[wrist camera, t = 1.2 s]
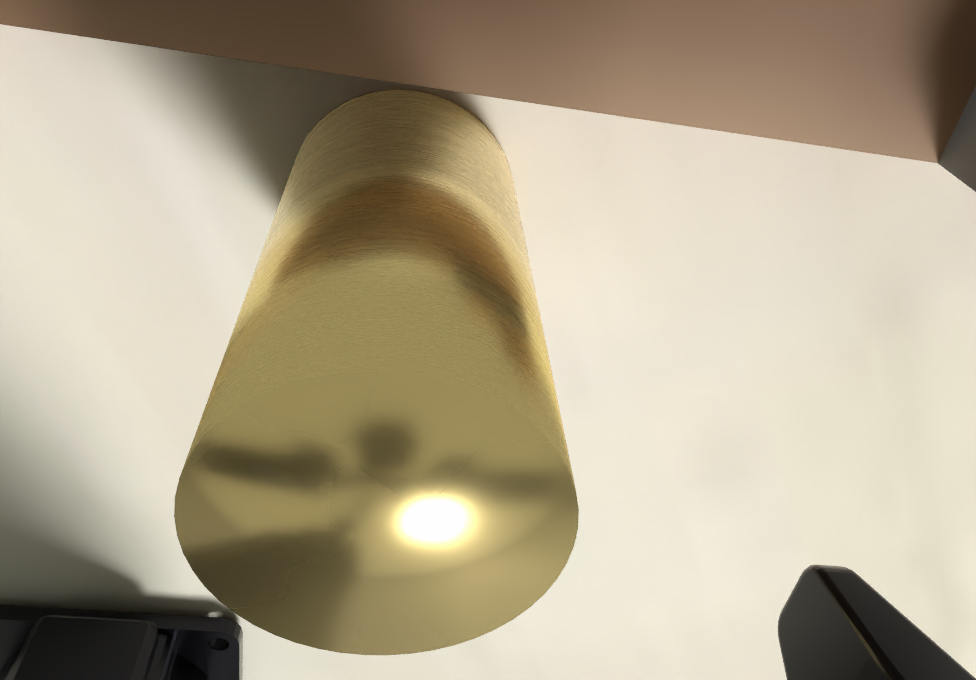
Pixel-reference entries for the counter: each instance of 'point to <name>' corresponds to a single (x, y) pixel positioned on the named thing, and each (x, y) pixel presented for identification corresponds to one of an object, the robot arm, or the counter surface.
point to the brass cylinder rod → (384, 399)
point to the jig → (611, 57)
